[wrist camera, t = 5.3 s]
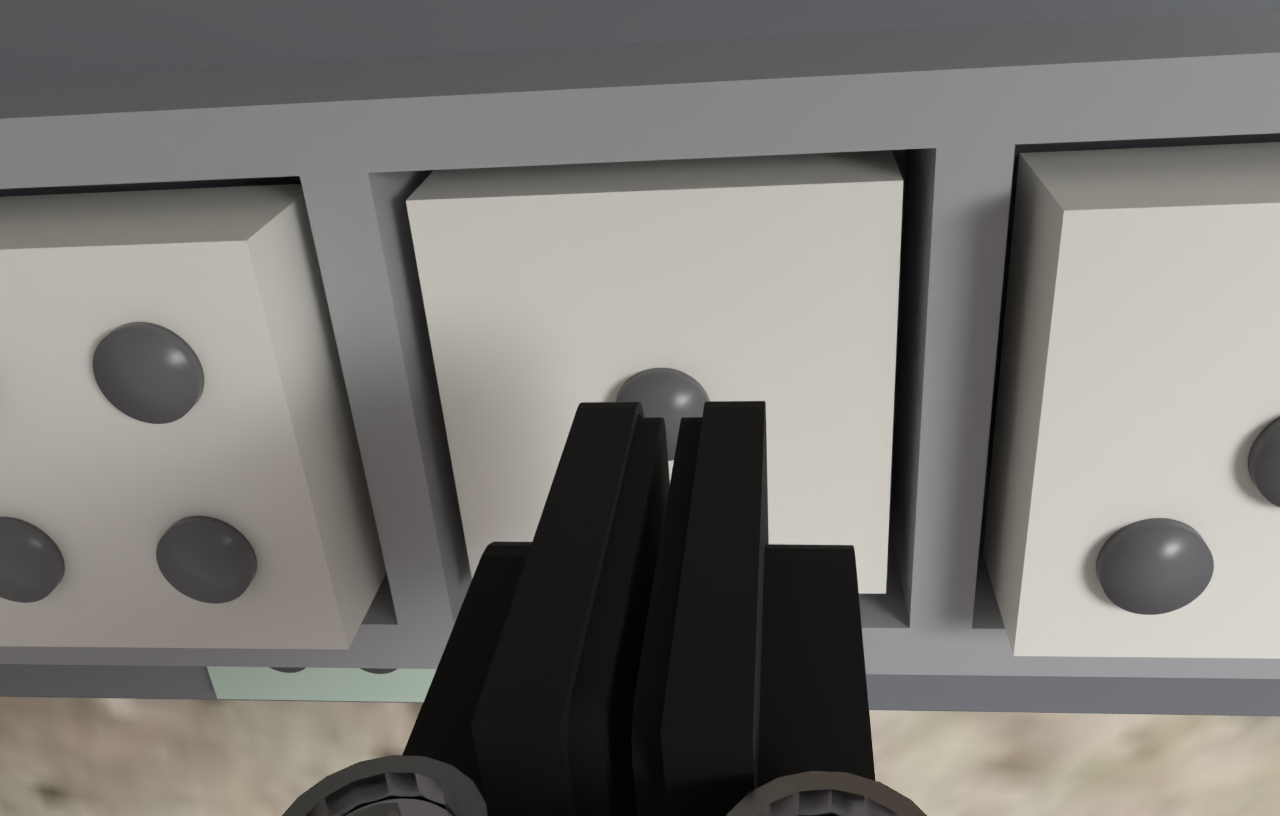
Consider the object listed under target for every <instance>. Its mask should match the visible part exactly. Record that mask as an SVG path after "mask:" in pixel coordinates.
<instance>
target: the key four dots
mask: <svg viewBox="0 0 1280 816" xmlns="http://www.w3.org/2000/svg"><path fill="white" fill-rule="evenodd" d="M386 573H387V572H386V567H385V563H384V558H383V553H382V549H381V544H380V540H379V535H378V531H377V526H376V521H375V517H374V512H373V508H372V503H371V499H370V494H369V490H368V485H367V480H366V476H365V471H364V467H363V462H362V458H361V453H360V448H359V444H358V439H357V435H356V430H355V426H354V421H353V417H352V412H351V407H350V403H349V398H348V394H347V389H346V385H345V380H344V375H343V371H342V366H341V362H340V357H339V353H338V348H337V344H336V339H335V334H334V330H333V325H332V321H331V316H330V312H329V307H328V302H327V298H326V293H325V289H324V284H323V280H322V275H321V271H320V266H319V261H318V257H317V252H316V248H315V243H314V239H313V234H312V229H311V225H310V220H309V216H308V211H307V207H306V202H305V198H304V193H303V188H302V184H286V185H263V186H239V187H216V188H192V189H169V190H146V191H122V192H99V193H76V194H52V195H29V196H6V197H0V646H27V647H130V648H233V649H336V650H348V649H349V647H350V645H351V643H352V641H353V639H354V637H355V635H356V633H357V631H358V629H359V627H360V625H361V623H362V621H363V619H364V617H365V615H366V613H367V611H368V609H369V607H370V605H371V603H372V601H373V599H374V597H375V595H376V593H377V591H378V589H379V587H380V585H381V583H382V581H383V579H384V577H385V575H386Z"/></svg>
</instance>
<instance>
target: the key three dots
mask: <svg viewBox="0 0 1280 816" xmlns="http://www.w3.org/2000/svg"><path fill="white" fill-rule="evenodd" d="M983 556H984V560H985V563H986V566H987V570H988V573H989V576H990V580H991V583H992V586H993V590H994V593H995V596H996V600H997V603H998V606H999V610H1000V613H1001V616H1002V619H1003V623H1004V626H1005V629H1006V633H1007V636H1008V639H1009V643H1010V646H1011V649H1012V653H1013V656H1057V657H1160V658H1263V659H1280V142H1267V143H1244V144H1220V145H1197V146H1173V147H1150V148H1127V149H1103V150H1080V151H1057V152H1033V153H1020V154H1019V165H1018V176H1017V187H1016V198H1015V209H1014V220H1013V231H1012V242H1011V253H1010V264H1009V275H1008V285H1007V296H1006V307H1005V318H1004V329H1003V340H1002V351H1001V362H1000V373H999V384H998V395H997V406H996V417H995V428H994V439H993V449H992V460H991V471H990V482H989V493H988V504H987V515H986V526H985V537H984V548H983Z"/></svg>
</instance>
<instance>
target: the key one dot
mask: <svg viewBox="0 0 1280 816" xmlns="http://www.w3.org/2000/svg"><path fill="white" fill-rule="evenodd" d="M902 202H903V178H902V176H901V173H900V171H899V168H898V165H897V163H896V160H895V158H894V155H893V153H892V150H880V151H857V152H834V153H812V154H789V155H766V156H743V157H720V158H697V159H674V160H651V161H629V162H606V163H583V164H560V165H537V166H514V167H491V168H468V169H446V170H434V171H433V172H432V173H431V174H430V175H429V176H428V177H427V178H426V179H425V180H424V181H423V183H422V184H421V185H420V186H419V187H418V188H417V189H416V190H415V191H414V192H413V193H412V194H411V195H410V197H409V198H408V199H407V200H406V205H407V211H408V216H409V222H410V228H411V234H412V239H413V245H414V251H415V256H416V262H417V268H418V274H419V279H420V285H421V291H422V296H423V302H424V308H425V313H426V319H427V325H428V331H429V336H430V342H431V348H432V353H433V359H434V365H435V371H436V376H437V382H438V388H439V393H440V399H441V405H442V410H443V416H444V422H445V428H446V433H447V439H448V445H449V450H450V456H451V462H452V468H453V473H454V479H455V485H456V490H457V496H458V502H459V508H460V513H461V519H462V525H463V530H464V536H465V542H466V547H467V553H468V559H469V565H470V570H471V576H472V579H473V576H474V574H475V571H476V569H477V566H478V563H479V561H480V558H481V556H482V554H483V552H484V550H485V549H486V547H487V545H489V544H490V543H492V542H532V541H533V538H534V535H535V532H536V529H537V526H538V524H539V521H540V518H541V515H542V512H543V509H544V506H545V503H546V500H547V497H548V494H549V491H550V488H551V485H552V482H553V479H554V476H555V473H556V470H557V467H558V464H559V461H560V458H561V455H562V452H563V449H564V446H565V443H566V440H567V437H568V434H569V431H570V428H571V425H572V422H573V419H574V416H575V413H576V411H577V408H578V406H579V404H580V403H582V402H640V403H641V405H642V408H643V413H644V418H648V417H663V418H664V421H665V426H666V437H667V451H668V465H669V479H670V480H671V474H672V468H673V462H674V456H675V450H676V444H677V438H678V433H679V427H680V421H681V418H682V417H703V409H704V404H705V402H706V401H765V404H766V437H767V488H768V538H769V544H788V545H853V546H854V550H855V558H856V569H857V580H858V592H859V594H886V581H887V557H888V534H889V510H890V486H891V463H892V439H893V415H894V391H895V368H896V344H897V320H898V296H899V273H900V249H901V225H902Z"/></svg>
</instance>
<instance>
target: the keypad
mask: <svg viewBox="0 0 1280 816" xmlns="http://www.w3.org/2000/svg"><path fill="white" fill-rule="evenodd" d="M1267 142H1280V0H0V197H6V196H29V195H52V194H76V193H99V192H122V191H146V190H169V189H192V188H216V187H239V186H263V185H286V184H302V188H303V193H304V198H305V202H306V207H307V211H308V216H309V220H310V225H311V229H312V234H313V239H314V243H315V248H316V252H317V257H318V261H319V266H320V271H321V275H322V280H323V284H324V289H325V293H326V298H327V302H328V307H329V312H330V316H331V321H332V325H333V330H334V334H335V339H336V344H337V348H338V353H339V357H340V362H341V366H342V371H343V375H344V380H345V385H346V389H347V394H348V398H349V403H350V407H351V412H352V417H353V421H354V426H355V430H356V435H357V439H358V444H359V448H360V453H361V458H362V462H363V467H364V471H365V476H366V480H367V485H368V490H369V494H370V499H371V503H372V508H373V512H374V517H375V521H376V526H377V531H378V535H379V540H380V544H381V549H382V553H383V558H384V563H385V567H386V572H387V573H386V575H385V577H384V579H383V581H382V583H381V585H380V587H379V589H378V591H377V593H376V595H375V597H374V599H373V601H372V603H371V605H370V607H369V609H368V611H367V613H366V615H365V617H364V619H363V621H362V623H361V625H360V627H359V629H358V631H357V633H356V635H355V637H354V639H353V641H352V643H351V645H350V647H349V649H348V650H336V649H233V648H130V647H27V646H0V696H10V697H74V698H138V699H202V700H267V701H331V702H395V703H423V702H424V700H425V697H426V695H427V692H428V690H429V687H430V685H431V682H432V680H433V677H434V675H435V672H436V670H437V667H438V664H439V662H440V659H441V657H442V654H443V652H444V649H445V647H446V644H447V642H448V639H449V637H450V634H451V632H452V629H453V627H454V624H455V622H456V619H457V617H458V614H459V611H460V609H461V606H462V604H463V601H464V599H465V596H466V594H467V591H468V589H469V586H470V584H471V581H472V576H471V570H470V565H469V559H468V553H467V547H466V542H465V536H464V530H463V525H462V519H461V513H460V508H459V502H458V496H457V490H456V485H455V479H454V473H453V468H452V462H451V456H450V450H449V445H448V439H447V433H446V428H445V422H444V416H443V410H442V405H441V399H440V393H439V388H438V382H437V376H436V371H435V365H434V359H433V353H432V348H431V342H430V336H429V331H428V325H427V319H426V313H425V308H424V302H423V296H422V291H421V285H420V279H419V274H418V268H417V262H416V256H415V251H414V245H413V239H412V234H411V228H410V222H409V216H408V211H407V205H406V200H407V199H408V198H409V197H410V195H411V194H412V193H413V192H414V191H415V190H416V189H417V188H418V187H419V186H420V185H421V184H422V183H423V181H424V180H425V179H426V178H427V177H428V176H429V175H430V174H431V173H432V172H433V171H434V170H446V169H468V168H491V167H514V166H537V165H560V164H583V163H606V162H629V161H651V160H674V159H697V158H720V157H743V156H766V155H789V154H812V153H834V152H857V151H880V150H892V153H893V155H894V158H895V160H896V163H897V165H898V168H899V171H900V173H901V176H902V178H903V202H902V225H901V249H900V273H899V296H898V320H897V344H896V368H895V391H894V415H893V439H892V463H891V486H890V510H889V534H888V557H887V581H886V594H859V603H860V614H861V625H862V637H863V648H864V659H865V671H866V682H867V693H868V705H869V710H909V711H973V712H1038V713H1102V714H1166V715H1230V716H1280V659H1263V658H1160V657H1057V656H1013V653H1012V649H1011V646H1010V643H1009V639H1008V636H1007V633H1006V629H1005V626H1004V623H1003V619H1002V616H1001V613H1000V610H999V606H998V603H997V600H996V596H995V593H994V590H993V586H992V583H991V580H990V576H989V573H988V570H987V566H986V563H985V560H984V556H983V548H984V537H985V526H986V515H987V504H988V493H989V482H990V471H991V460H992V449H993V439H994V428H995V417H996V406H997V395H998V384H999V373H1000V362H1001V351H1002V340H1003V329H1004V318H1005V307H1006V296H1007V285H1008V275H1009V264H1010V253H1011V242H1012V231H1013V220H1014V209H1015V198H1016V187H1017V176H1018V165H1019V154H1020V153H1033V152H1057V151H1080V150H1103V149H1127V148H1150V147H1173V146H1197V145H1220V144H1244V143H1267Z"/></svg>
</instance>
